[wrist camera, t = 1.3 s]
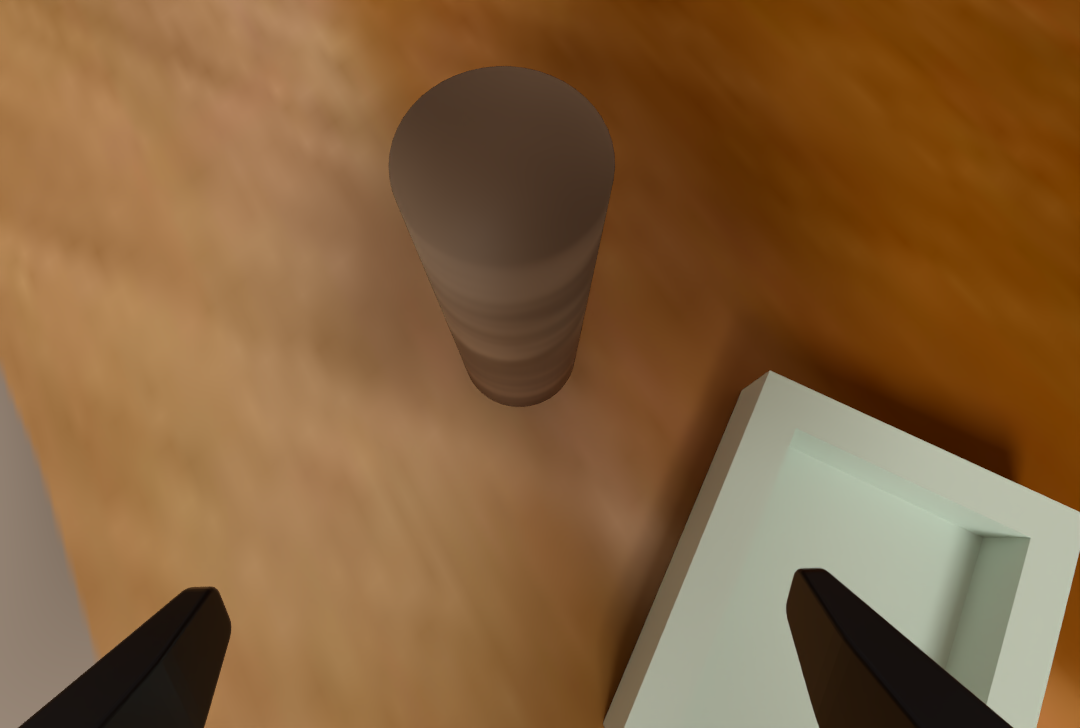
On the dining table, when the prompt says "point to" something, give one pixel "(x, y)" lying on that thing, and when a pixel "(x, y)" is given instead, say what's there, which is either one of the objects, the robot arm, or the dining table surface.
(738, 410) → the tray
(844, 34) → the dining table surface
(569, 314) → the brown round cylinder
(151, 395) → the dining table surface
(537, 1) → the dining table surface
